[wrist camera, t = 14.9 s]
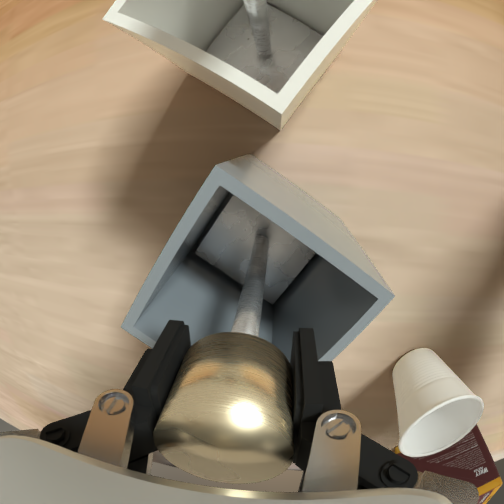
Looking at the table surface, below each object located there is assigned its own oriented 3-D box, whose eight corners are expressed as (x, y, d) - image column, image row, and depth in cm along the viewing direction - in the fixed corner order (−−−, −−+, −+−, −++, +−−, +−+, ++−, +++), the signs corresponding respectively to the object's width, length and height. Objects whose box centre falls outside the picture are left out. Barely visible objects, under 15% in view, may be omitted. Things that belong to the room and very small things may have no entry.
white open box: (250, -6, 21) (225, -107, 7) (343, 48, 22) (400, -31, 8) (187, 73, 24) (102, 19, 10) (280, 130, 25) (281, 114, 11)
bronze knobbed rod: (252, -1, 20) (207, -163, 2) (330, 44, 21) (414, -103, 3) (198, 65, 22) (55, -41, 4) (277, 113, 23) (270, 30, 5)
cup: (364, 391, 34) (381, 459, 24) (397, 328, 31) (431, 396, 21) (425, 394, 34) (450, 453, 24) (460, 336, 31) (500, 394, 20)
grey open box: (249, 153, 26) (215, 164, 12) (340, 218, 27) (395, 295, 13) (191, 241, 29) (120, 327, 15) (275, 297, 31) (270, 413, 17)
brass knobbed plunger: (249, 172, 24) (149, 273, 5) (330, 230, 25) (422, 428, 6) (196, 250, 26) (71, 434, 8) (272, 301, 27) (256, 517, 9)
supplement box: (393, 446, 39) (411, 523, 24) (473, 416, 36) (504, 483, 21) (390, 472, 42) (403, 538, 27) (462, 446, 39) (485, 506, 25)
